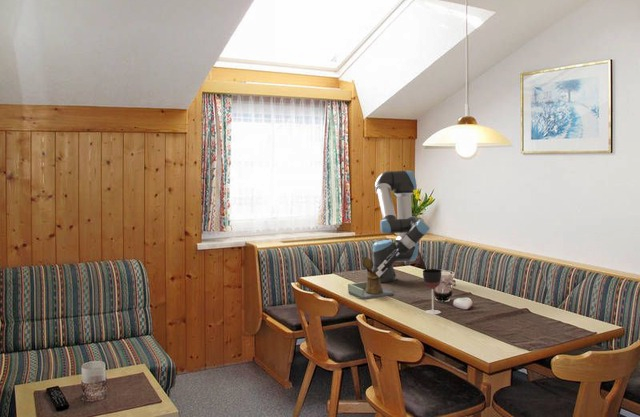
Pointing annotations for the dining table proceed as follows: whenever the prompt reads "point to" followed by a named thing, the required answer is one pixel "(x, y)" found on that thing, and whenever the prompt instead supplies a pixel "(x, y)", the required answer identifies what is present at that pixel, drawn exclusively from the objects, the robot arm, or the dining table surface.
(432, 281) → the wineglass
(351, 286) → the corner bay
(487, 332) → the dining table surface
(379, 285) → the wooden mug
